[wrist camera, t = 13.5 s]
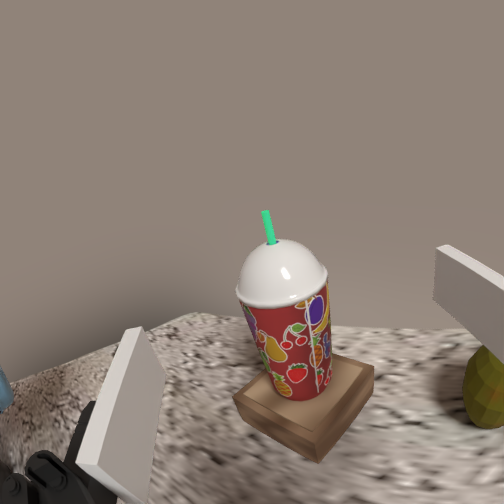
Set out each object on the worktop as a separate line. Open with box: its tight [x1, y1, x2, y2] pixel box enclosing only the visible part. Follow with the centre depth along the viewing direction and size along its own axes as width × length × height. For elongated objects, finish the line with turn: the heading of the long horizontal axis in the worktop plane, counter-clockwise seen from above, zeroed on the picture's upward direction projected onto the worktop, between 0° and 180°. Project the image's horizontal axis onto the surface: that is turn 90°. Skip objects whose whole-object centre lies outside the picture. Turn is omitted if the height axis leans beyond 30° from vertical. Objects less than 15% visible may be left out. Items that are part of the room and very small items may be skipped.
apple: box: [462, 345, 504, 429], centre depth 20 cm, size 10×10×11 cm
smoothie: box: [235, 210, 332, 401], centre depth 28 cm, size 8×8×20 cm
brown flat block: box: [232, 353, 374, 464], centre depth 32 cm, size 12×12×5 cm
